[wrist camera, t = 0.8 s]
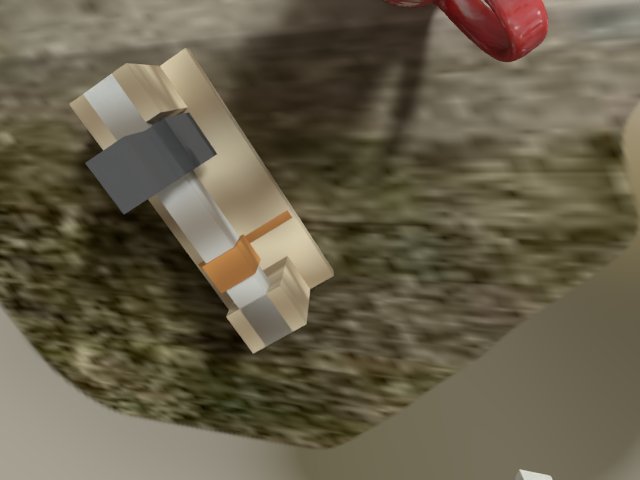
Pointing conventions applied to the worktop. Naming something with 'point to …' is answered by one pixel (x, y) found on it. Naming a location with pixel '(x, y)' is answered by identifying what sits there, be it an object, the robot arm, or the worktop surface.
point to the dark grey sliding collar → (150, 160)
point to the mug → (495, 23)
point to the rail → (217, 198)
